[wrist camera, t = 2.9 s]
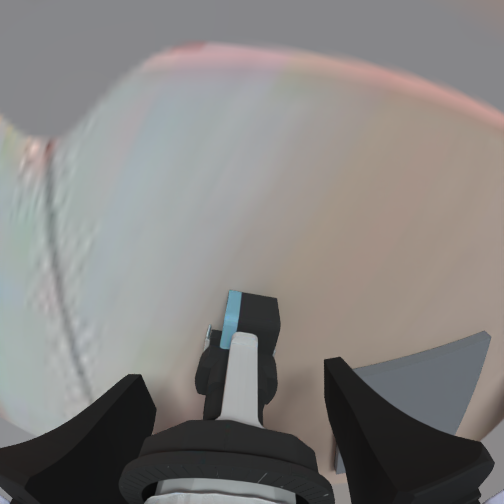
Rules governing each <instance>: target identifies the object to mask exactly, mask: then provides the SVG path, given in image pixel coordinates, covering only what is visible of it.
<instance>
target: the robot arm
mask: <svg viewBox="0 0 504 504" xmlns="http://www.w3.org/2000/svg"><path fill="white" fill-rule="evenodd" d="M324 398H325V403H326V408H327V413H328V418H329V421H330V425H331V428H332V431H333V434H334V437H335V439H336V442H337V445H338V448H339V451H340V454H341V457H342V460H343V464H344V467H345V471H346V476H347V481H348V486H349V492H350V497H351V503H352V504H480V502H479V500H478V499H479V498H480V497H481V493H480V491H479V489H478V487H479V486H480V485H481V484H482V483H483V482H484V480H485V479H486V478H487V477H488V475H489V474H490V473H491V471H492V469H493V467H494V464H495V462H494V461H493V459H492V457H491V456H490V454H489V452H488V451H487V449H486V448H485V447H484V445H483V444H482V443H481V442H478V441H474V440H470V439H465V438H461V437H457V436H454V435H451V434H448V433H445V432H443V431H440V430H437V429H435V428H433V427H431V426H429V425H426V424H424V423H422V422H420V421H418V420H416V419H414V418H412V417H411V416H409V415H407V414H406V413H404V412H402V411H401V410H399V409H398V408H396V407H395V406H393V405H392V404H391V403H389V402H388V401H387V400H385V399H384V398H383V397H382V396H380V395H379V394H378V393H377V392H376V391H374V390H373V389H372V388H371V387H370V386H369V385H368V384H367V383H366V382H364V381H363V380H362V379H361V378H360V377H359V376H358V375H357V374H356V373H355V372H354V371H353V370H352V369H351V368H350V366H349V365H348V364H347V363H346V362H345V361H344V360H343V359H342V358H341V357H336V358H330V359H325V360H324ZM156 410H157V409H156V407H155V405H154V403H153V400H152V398H151V396H150V394H149V392H148V389H147V387H146V385H145V382H144V380H143V378H142V375H141V374H128V375H127V376H125V377H124V378H123V379H121V380H120V381H119V382H118V383H116V384H115V385H114V386H113V387H112V388H111V389H109V390H108V391H107V392H106V393H105V394H103V395H102V396H101V397H100V398H99V399H97V400H96V401H95V402H94V403H93V404H91V405H90V406H89V407H87V408H86V409H85V410H83V411H82V412H81V413H79V414H78V415H77V416H75V417H74V418H72V419H71V420H69V421H68V422H66V423H64V424H63V425H61V426H59V427H58V428H56V429H54V430H52V431H50V432H48V433H45V434H43V435H41V436H39V437H37V438H34V439H32V440H29V441H26V442H23V443H20V444H16V445H12V446H8V447H4V448H0V487H1V488H2V489H3V490H4V491H6V492H7V493H8V494H9V495H10V496H11V497H12V498H13V499H12V501H11V502H9V501H8V500H7V499H6V498H4V497H2V496H1V495H0V504H129V503H128V502H127V501H126V500H125V498H124V497H123V496H122V494H121V492H120V490H119V480H120V477H121V475H122V472H123V470H124V468H125V466H126V465H127V464H128V463H130V462H131V461H132V460H134V459H137V458H138V457H139V454H140V451H141V448H142V446H143V443H144V440H145V439H146V438H147V437H149V436H151V434H152V431H153V427H154V422H155V416H156ZM483 504H504V489H503V490H502V491H500V492H499V493H497V494H496V495H494V496H492V497H491V498H489V499H488V500H486V501H485V502H484V503H483Z"/></svg>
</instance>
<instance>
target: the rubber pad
mask: <svg viewBox="0 0 504 504" xmlns="http://www.w3.org/2000/svg"><path fill="white" fill-rule="evenodd" d="M490 340H491V336H490V335H489V334H488V333H487V332H485V331H483V332H480V333H477V334H475V335H472V336H469V337H467V338H464V339H461V340H458V341H455V342H452V343H449V344H446V345H443V346H440V347H437V348H434V349H430V350H427V351H424V352H420V353H417V354H413V355H410V356H406V357H402V358H399V359H395V360H391V361H387V362H383V363H379V364H374V365H370V366H365V367H361V368H356V369H352V370H353V371H354V372H355V373H356V374H357V375H358V376H359V377H360V378H361V379H362V380H363V381H364V382H366V383H367V384H368V385H369V386H370V387H371V388H372V389H373V390H374V391H376V392H377V393H378V394H379V395H380V396H382V397H383V398H384V399H385V400H387V401H388V402H389V403H391V404H392V405H393V406H395V407H396V408H398V409H399V410H401V411H402V412H404V413H406V414H407V415H409V416H411V417H412V418H414V419H416V420H418V421H420V422H422V423H424V424H426V425H429V426H431V427H433V428H435V429H437V430H440V431H443V432H445V433H448V434H451V435H455V433H456V431H457V429H458V427H459V425H460V423H461V421H462V418H463V416H464V414H465V412H466V409H467V407H468V404H469V402H470V400H471V397H472V395H473V392H474V389H475V387H476V384H477V381H478V378H479V376H480V373H481V370H482V367H483V364H484V361H485V357H486V354H487V351H488V347H489V344H490ZM334 467H335V471H336V474H341V473H346V471H345V467H344V464H343V460H342V457H341V454H340V451H339V448H338V445H337V446H336V456H335V466H334Z"/></svg>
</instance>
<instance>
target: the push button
mask: <svg viewBox="0 0 504 504" xmlns="http://www.w3.org/2000/svg"><path fill="white" fill-rule="evenodd" d="M280 324H281V323H280V316H279V309H278V302H277V298H272V297H266V296H260V295H255V294H249V293H243V292H238V291H232V290H229V295H228V301H227V309H226V314H225V319H224V325H223V331H218V330H212V332H211V335H210V330H211V324H209V328H208V331H207V335H206V338H205V345H204V352H203V354H202V356H201V358H200V361H199V365H198V368H197V372H196V376H195V386H196V389H197V392H198V393H199V394H202V395H206V398H205V405H204V412H203V414H204V415H203V420H190V421H186V422H184V423H182V424H179V425H177V426H174V427H172V428H169V429H167V430H164V431H162V432H159V433H157V434H154V435H152V436H149V437H147V438H146V439H145V440H144V443H143V446H142V448H141V451H140V454H139V457H138V458H137V459H134V460H132V461H131V462H130V463H128V464H127V465H126V466H125V468H124V470H123V472H122V475H121V477H120V480H119V490H120V492H121V494H122V496H123V497H124V498H125V500H126V501H127V502H128V503H129V504H335V499H334V494H333V489H332V486H331V484H330V483H329V481H328V480H327V479H326V478H325V477H323V476H322V475H320V474H319V473H318V467H317V462H316V456H315V452H314V451H313V450H312V449H311V448H310V447H308V446H307V445H306V444H304V443H303V442H302V441H301V440H299V439H298V438H297V437H295V436H294V435H291V434H286V433H281V432H277V431H272V430H268V429H265V428H264V427H263V408H264V405H265V404H268V403H269V402H270V401H271V400H272V399H273V397H274V396H275V393H276V391H277V385H278V381H277V370H276V363H275V360H274V355H275V352H276V350H275V346H276V343H277V339H278V336H279V332H280ZM209 337H210V340H209Z"/></svg>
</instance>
